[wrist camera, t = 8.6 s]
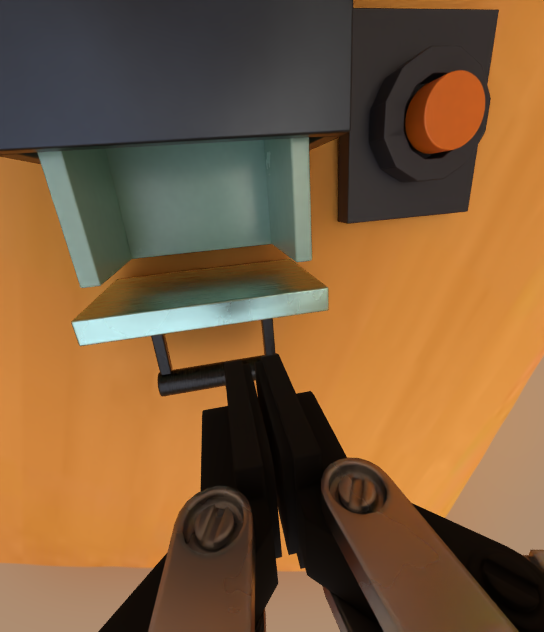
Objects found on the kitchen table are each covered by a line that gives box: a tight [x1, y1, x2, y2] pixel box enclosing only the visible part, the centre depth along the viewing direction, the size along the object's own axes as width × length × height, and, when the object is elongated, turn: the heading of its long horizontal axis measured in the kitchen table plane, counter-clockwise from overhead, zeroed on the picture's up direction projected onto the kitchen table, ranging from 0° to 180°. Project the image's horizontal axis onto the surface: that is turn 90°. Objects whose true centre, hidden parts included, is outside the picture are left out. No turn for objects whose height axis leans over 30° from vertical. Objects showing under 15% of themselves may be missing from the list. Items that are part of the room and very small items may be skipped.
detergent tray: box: [37, 137, 328, 396], centre depth 16 cm, size 18×11×7 cm, turn 4°
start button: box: [405, 70, 485, 154], centre depth 17 cm, size 4×4×2 cm
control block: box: [338, 8, 499, 223], centre depth 19 cm, size 11×9×4 cm
